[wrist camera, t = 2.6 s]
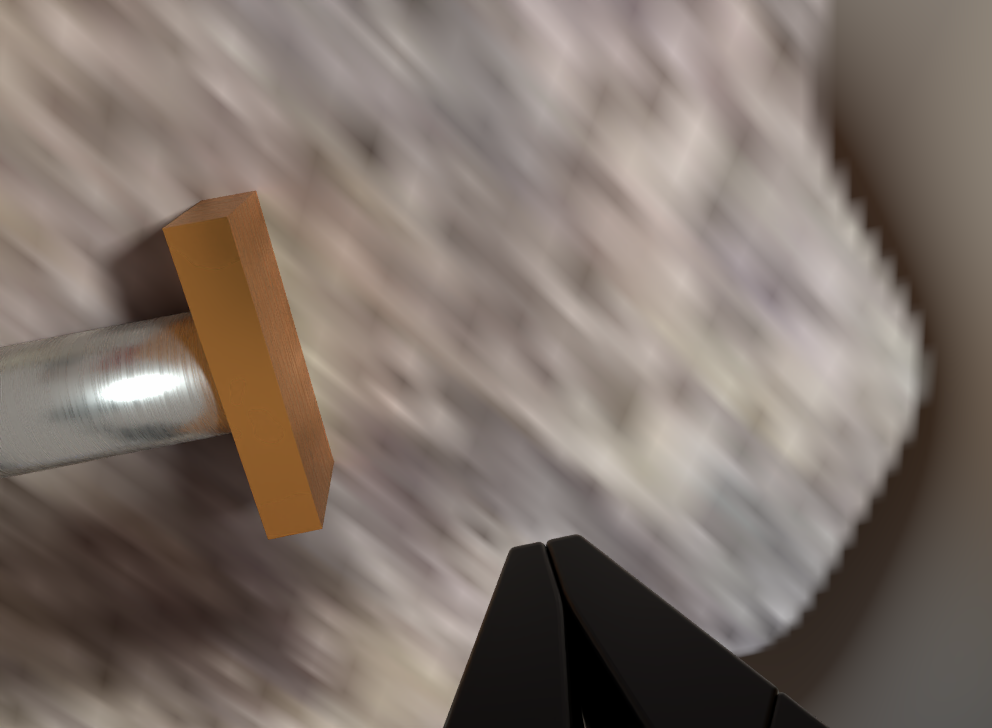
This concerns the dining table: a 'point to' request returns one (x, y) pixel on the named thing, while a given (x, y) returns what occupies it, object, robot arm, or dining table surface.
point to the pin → (184, 375)
